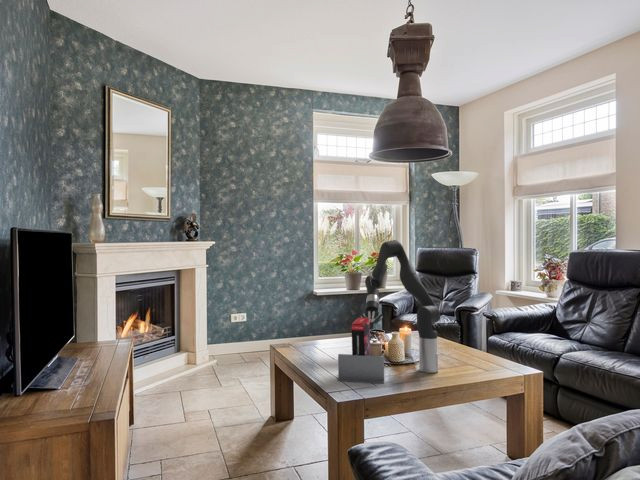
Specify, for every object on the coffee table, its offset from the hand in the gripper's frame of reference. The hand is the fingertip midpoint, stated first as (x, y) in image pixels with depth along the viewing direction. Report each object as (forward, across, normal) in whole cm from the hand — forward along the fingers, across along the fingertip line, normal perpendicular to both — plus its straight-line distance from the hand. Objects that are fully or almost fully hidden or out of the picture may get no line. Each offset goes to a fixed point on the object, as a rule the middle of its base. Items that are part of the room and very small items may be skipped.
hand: (370, 329), depth 259 cm
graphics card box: (+31, -2, -5) cm, 32 cm away
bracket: (+34, -2, -9) cm, 36 cm away
